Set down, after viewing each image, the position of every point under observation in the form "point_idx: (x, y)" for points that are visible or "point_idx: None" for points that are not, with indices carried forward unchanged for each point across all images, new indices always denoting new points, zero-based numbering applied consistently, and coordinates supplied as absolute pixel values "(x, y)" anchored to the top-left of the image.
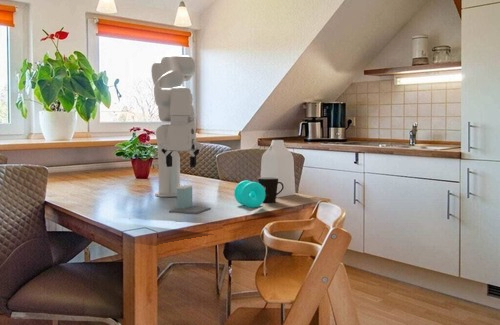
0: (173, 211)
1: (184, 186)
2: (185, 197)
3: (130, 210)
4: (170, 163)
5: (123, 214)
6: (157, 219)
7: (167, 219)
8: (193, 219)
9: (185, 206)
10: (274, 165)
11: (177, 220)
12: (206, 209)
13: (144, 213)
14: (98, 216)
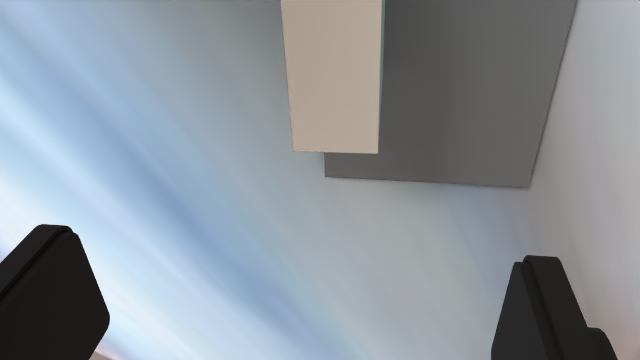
0: (356, 176)
1: (347, 92)
2: (381, 85)
3: (76, 167)
4: (67, 312)
5: (151, 273)
6: (379, 341)
7: (424, 336)
8: None
9: (383, 57)
10: None
11: (480, 347)
12: (566, 31)
13: (220, 231)
14: None
